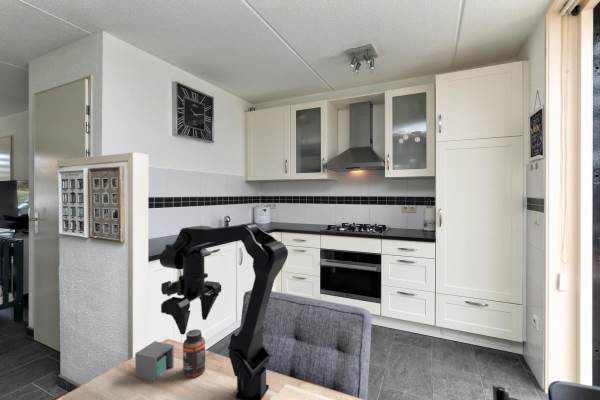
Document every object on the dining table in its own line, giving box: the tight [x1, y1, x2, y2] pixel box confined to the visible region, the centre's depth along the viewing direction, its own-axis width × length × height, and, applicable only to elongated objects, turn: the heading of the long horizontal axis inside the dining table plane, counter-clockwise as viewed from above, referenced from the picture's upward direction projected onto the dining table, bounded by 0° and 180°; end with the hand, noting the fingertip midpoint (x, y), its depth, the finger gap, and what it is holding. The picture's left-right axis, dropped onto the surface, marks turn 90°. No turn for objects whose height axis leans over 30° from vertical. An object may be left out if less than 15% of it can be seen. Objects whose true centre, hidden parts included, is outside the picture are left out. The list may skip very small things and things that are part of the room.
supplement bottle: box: [182, 328, 206, 378], centre depth 82 cm, size 6×6×11 cm
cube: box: [157, 355, 167, 377], centre depth 82 cm, size 4×4×4 cm
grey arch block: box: [134, 340, 175, 383], centre depth 82 cm, size 7×7×6 cm
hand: (194, 326), depth 82 cm, fingers open, 9 cm apart
